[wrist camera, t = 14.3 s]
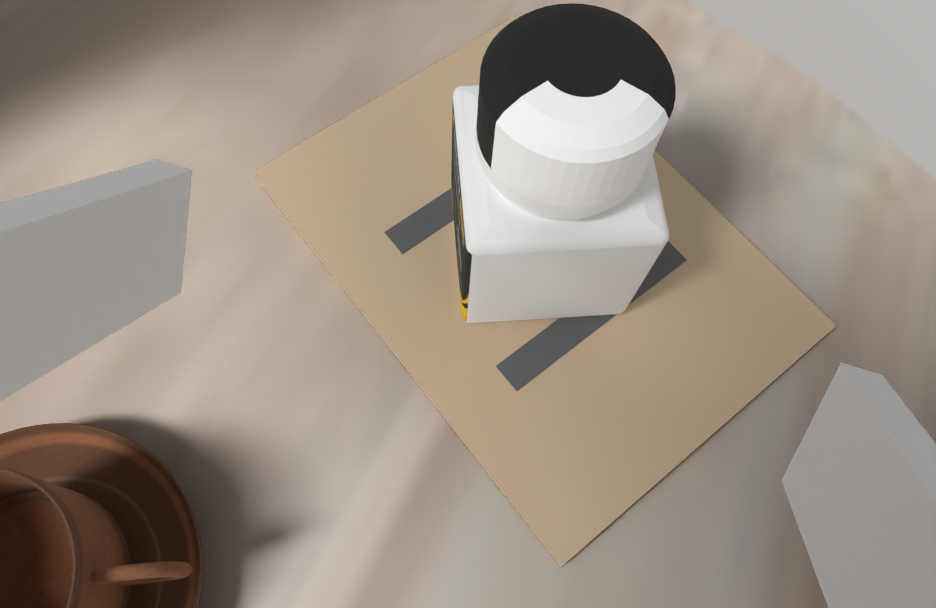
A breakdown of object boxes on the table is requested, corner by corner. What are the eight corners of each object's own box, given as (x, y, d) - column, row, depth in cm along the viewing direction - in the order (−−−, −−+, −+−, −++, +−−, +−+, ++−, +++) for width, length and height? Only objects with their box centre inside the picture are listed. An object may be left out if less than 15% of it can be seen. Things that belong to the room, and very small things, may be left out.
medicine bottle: (450, 184, 34) (453, -23, 23) (601, 176, 34) (676, -31, 23) (462, 326, 31) (472, 171, 20) (625, 316, 31) (725, 158, 20)
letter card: (254, 176, 34) (252, 171, 34) (515, 20, 38) (515, 14, 38) (560, 566, 28) (562, 565, 27) (832, 328, 32) (837, 325, 32)
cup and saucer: (162, 386, 30) (96, 335, 24) (261, 674, 26) (210, 694, 20) (-143, 517, 28) (-294, 494, 22) (-85, 855, 24) (-251, 934, 18)
